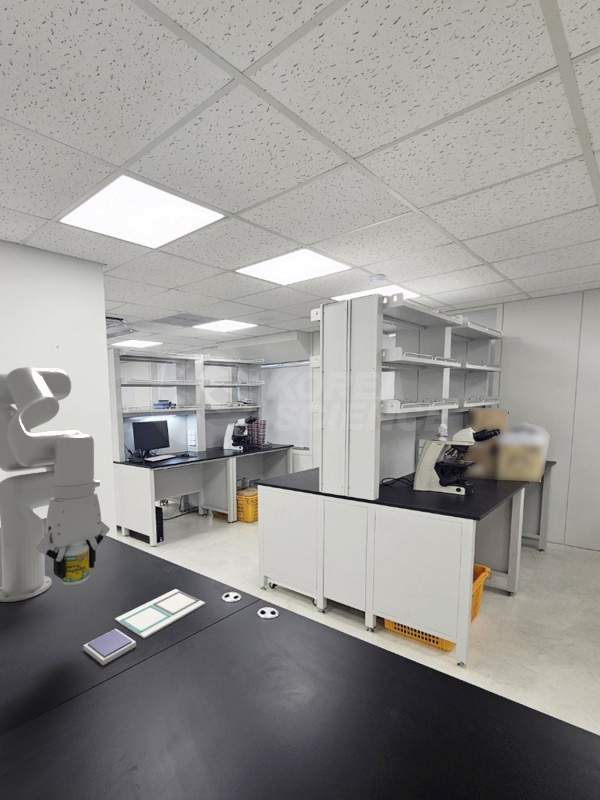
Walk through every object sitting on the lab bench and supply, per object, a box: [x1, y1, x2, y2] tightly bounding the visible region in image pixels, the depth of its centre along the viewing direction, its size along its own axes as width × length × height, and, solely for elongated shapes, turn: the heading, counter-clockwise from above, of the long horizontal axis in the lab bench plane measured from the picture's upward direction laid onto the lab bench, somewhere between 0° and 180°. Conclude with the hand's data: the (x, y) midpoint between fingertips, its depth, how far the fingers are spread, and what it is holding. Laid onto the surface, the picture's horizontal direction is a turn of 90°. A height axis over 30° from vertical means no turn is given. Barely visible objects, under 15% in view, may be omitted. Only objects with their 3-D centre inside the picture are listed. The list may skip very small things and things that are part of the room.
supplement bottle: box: [61, 541, 90, 586], centre depth 86 cm, size 5×5×10 cm
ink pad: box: [83, 628, 137, 666], centre depth 82 cm, size 8×7×1 cm
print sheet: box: [114, 588, 206, 639], centre depth 95 cm, size 12×17×1 cm
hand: (75, 570), depth 86 cm, fingers closed on supplement bottle, 5 cm apart
